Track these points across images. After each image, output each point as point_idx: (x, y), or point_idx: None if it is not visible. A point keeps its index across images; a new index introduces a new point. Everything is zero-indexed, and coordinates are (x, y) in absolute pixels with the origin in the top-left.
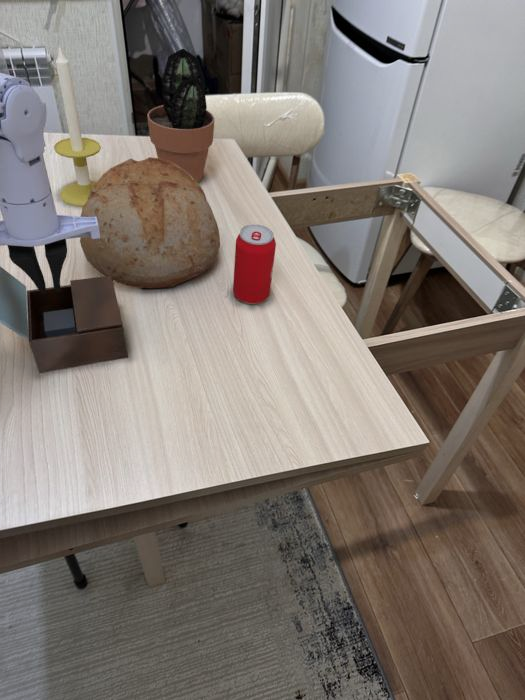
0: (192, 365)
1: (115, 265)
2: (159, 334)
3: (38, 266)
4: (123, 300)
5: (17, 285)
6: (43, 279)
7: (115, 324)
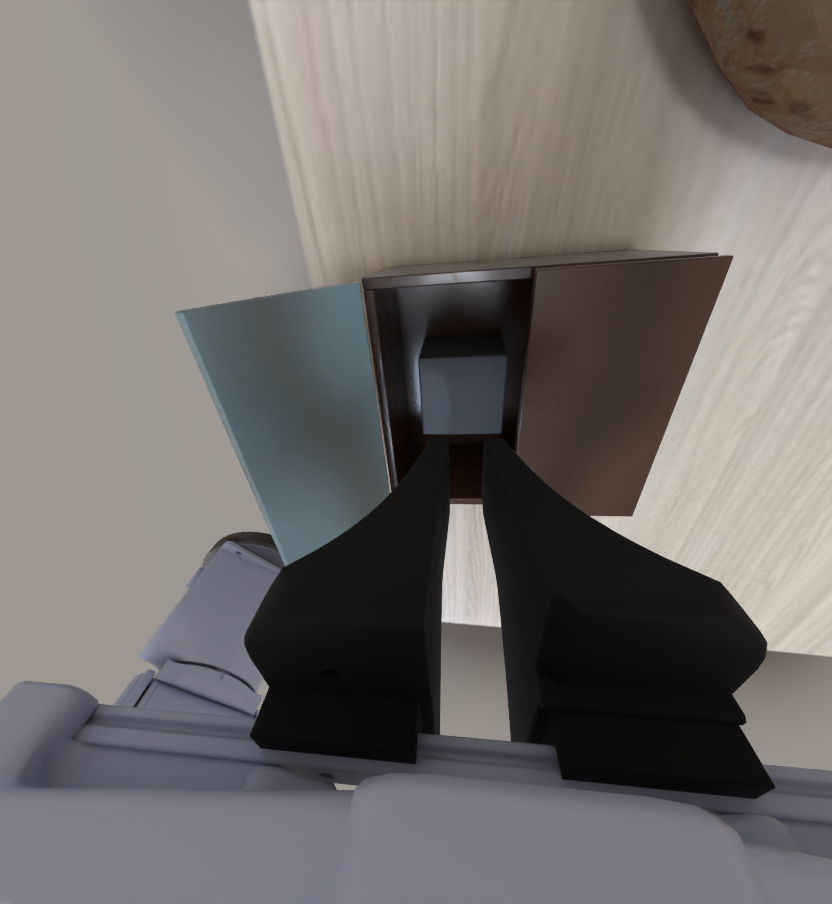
0: (704, 490)
1: (811, 53)
2: (695, 389)
3: (440, 513)
4: (677, 194)
5: (333, 333)
6: (448, 473)
7: (612, 515)
